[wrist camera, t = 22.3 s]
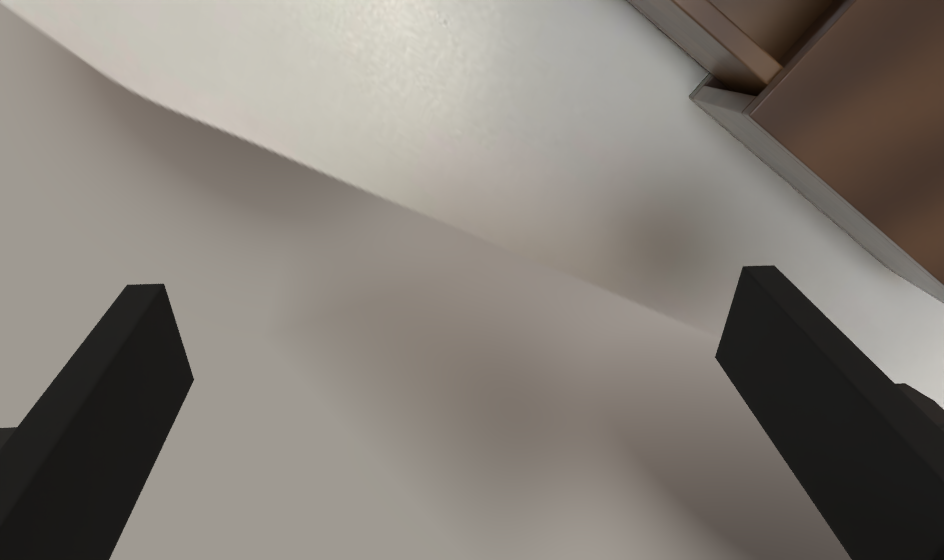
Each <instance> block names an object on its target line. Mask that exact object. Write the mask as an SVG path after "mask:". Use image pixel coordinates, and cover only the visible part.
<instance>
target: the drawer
mask: <svg viewBox="0 0 944 560" xmlns="http://www.w3.org/2000/svg"><path fill="white" fill-rule="evenodd" d="M627 1H628V2H630V3H631V4H632V5H633V6H634V7H635V8H636V9H638V10H639V11H640V12H641V13H642V14H643V15H645V16H646V17H647V18H648V19H649V20H650V21H651V22H653V23H654V24H655V25H656V26H657V27H658V28H659V29H661V30H662V31H663V32H664V33H665V34H666V35H667V36H669V37H670V38H671V39H672V40H673V41H674V42H675V43H677V44H678V45H679V46H680V47H681V48H682V49H683V50H685V51H686V52H687V53H688V54H689V55H690V56H692V57H693V58H694V59H695V60H696V61H697V62H698V63H700V64H701V65H702V66H703V67H704V68H705V69H706V70H708V71H709V72H710V73H711V74H712V75H713V76H714V77H716V78H717V79H718V80H719V81H720V82H721V83H722V84H724V85H725V86H726V87H727V88H728V89H729V90H731V91H733V92H738V93H743V94H748V95H753V96H758V95H759V94H760V93H761V92H762V91H763V90H764V89H765V88H766V87H767V85H768V84H769V83H770V82H771V81H772V80H773V79H774V78H775V77H776V76H777V75H778V74H779V73H780V71H781V70H782V69H783V68H784V67H785V66H786V65H787V64H788V63H789V62H790V61H791V60H792V59H793V57H794V56H795V55H796V54H797V53H798V52H799V51H800V50H801V49H802V48H803V47H804V46H805V45H806V43H807V42H808V41H809V40H810V39H811V38H812V37H813V36H814V35H815V34H816V33H817V32H818V31H819V29H820V28H821V27H822V26H823V25H824V24H825V23H826V22H827V21H828V20H829V19H830V18H831V17H832V15H833V14H834V13H835V12H836V11H837V10H838V9H839V8H840V7H841V6H842V5H843V4H844V3H845V1H846V0H627Z"/></svg>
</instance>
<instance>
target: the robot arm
mask: <svg viewBox="0 0 944 560" xmlns="http://www.w3.org/2000/svg"><path fill="white" fill-rule="evenodd" d="M715 358H716V359H717V361H718V362H719V363H720V365H721V367H722V368H723V370H724V371H725V372H726V374H727V376H728V377H729V379H730V380H731V382H732V383H733V384H734V386H735V387H736V389H737V390H738V392H739V393H740V395H741V396H742V398H743V399H744V400H745V402H746V404H747V405H748V407H749V408H750V410H751V411H752V413H753V414H754V416H755V417H756V418H757V420H758V421H759V423H760V424H761V426H762V427H763V429H764V430H765V432H766V433H767V435H768V436H769V438H770V439H771V440H772V442H773V443H774V445H775V447H776V448H777V450H778V451H779V452H780V454H781V455H782V457H783V458H784V460H785V461H786V463H787V464H788V466H789V467H790V469H791V470H792V472H793V473H794V475H795V476H796V478H797V479H798V480H799V482H800V483H801V485H802V486H803V488H804V489H805V491H806V492H807V494H808V495H809V497H810V498H811V500H812V501H813V503H814V504H815V506H816V507H817V509H818V510H819V512H820V513H821V515H822V516H823V517H824V519H825V520H826V522H827V523H828V525H829V526H830V528H831V529H832V531H833V532H834V534H835V535H836V537H837V538H838V540H839V541H840V543H841V544H842V546H843V547H844V549H845V550H846V551H847V553H848V554H849V556H850V557H851V559H852V560H944V410H943V409H942V408H941V407H940V406H939V405H938V404H937V403H936V402H935V401H933V400H932V399H930V398H928V397H927V396H925V395H923V394H922V393H920V392H919V391H917V390H915V389H914V388H912V387H910V386H909V385H907V384H905V383H902V384H894V383H893V382H892V381H891V380H890V379H889V378H888V377H887V376H886V375H885V374H884V373H883V372H882V371H881V370H880V369H879V368H878V367H877V366H876V365H875V364H874V363H873V362H872V361H871V360H870V359H869V358H868V357H867V356H866V355H865V354H864V353H863V352H862V351H861V350H860V349H859V348H858V347H857V346H856V345H855V344H854V343H853V342H852V341H851V340H850V339H849V338H848V337H847V336H846V335H845V334H843V333H842V332H841V331H840V330H839V329H838V328H837V327H836V326H835V325H834V324H833V323H832V322H831V321H830V320H829V319H828V318H827V317H826V316H825V315H824V314H823V313H822V312H821V311H820V310H819V309H818V308H817V307H816V306H815V305H814V304H813V303H812V302H811V301H810V300H809V299H808V298H807V297H806V296H805V295H804V294H803V293H802V292H801V291H800V290H799V289H798V288H797V287H796V286H795V285H794V284H793V283H791V282H790V281H789V280H788V279H787V278H786V277H785V276H784V275H783V274H782V273H781V272H780V271H779V270H778V269H777V268H776V267H775V266H743V268H742V272H741V275H740V278H739V281H738V285H737V288H736V291H735V294H734V298H733V301H732V304H731V307H730V311H729V314H728V317H727V320H726V324H725V327H724V330H723V333H722V337H721V340H720V343H719V347H718V350H717V353H716V356H715ZM193 381H194V378H193V375H192V372H191V369H190V365H189V362H188V359H187V356H186V353H185V349H184V346H183V343H182V340H181V337H180V333H179V330H178V327H177V324H176V321H175V317H174V314H173V312H172V308H171V305H170V302H169V298H168V295H167V292H166V289H165V286H164V284H143V285H141V284H140V285H127V286H126V287H125V288H124V290H123V291H122V292H121V294H120V295H119V296H118V297H117V299H116V300H115V301H114V303H113V304H112V305H111V307H110V308H109V309H108V311H107V312H106V313H105V314H104V316H103V317H102V318H101V320H100V321H99V322H98V323H97V325H96V326H95V328H94V329H93V330H92V331H91V332H90V334H89V335H88V336H87V338H86V339H85V340H84V342H83V343H82V344H81V346H80V347H79V348H78V349H77V351H76V352H75V353H74V354H73V356H72V357H71V358H70V360H69V361H68V363H67V364H66V365H65V366H64V367H63V369H62V370H61V372H60V373H59V374H58V375H57V377H56V378H55V379H54V380H53V382H52V383H51V384H50V386H49V387H48V388H47V390H46V391H45V392H44V393H43V395H42V396H41V397H40V399H39V400H38V401H37V402H36V404H35V405H34V406H33V408H32V409H31V410H30V412H29V413H28V414H27V416H26V417H25V418H24V419H23V421H22V422H21V423H20V425H19V426H18V427H16V428H15V427H14V428H0V560H109V559H110V557H111V554H112V552H113V550H114V548H115V546H116V544H117V542H118V540H119V537H120V535H121V533H122V531H123V529H124V527H125V525H126V523H127V521H128V518H129V516H130V514H131V512H132V510H133V508H134V506H135V504H136V501H137V499H138V497H139V495H140V492H141V491H142V489H143V486H144V485H145V482H146V480H147V478H148V476H149V474H150V472H151V469H152V467H153V465H154V463H155V461H156V459H157V457H158V455H159V453H160V451H161V449H162V446H163V444H164V442H165V440H166V438H167V436H168V433H169V431H170V429H171V427H172V425H173V423H174V421H175V419H176V417H177V415H178V412H179V410H180V408H181V406H182V404H183V402H184V400H185V398H186V396H187V393H188V391H189V389H190V387H191V385H192V383H193Z"/></svg>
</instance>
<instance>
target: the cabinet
mask: <svg viewBox="0 0 944 560" xmlns="http://www.w3.org/2000/svg"><path fill="white" fill-rule="evenodd" d="M689 98H690V99H691V100H692V101H693V102H694V103H696V104H697V105H698V106H699V107H700V108H701V109H703V110H704V111H705V112H706V113H707V114H708V115H710V116H711V117H712V118H713V119H714V120H715V121H717V122H718V123H719V124H720V125H721V126H722V127H724V128H725V129H726V130H727V131H728V132H729V133H731V134H732V135H733V136H734V137H735V138H736V139H738V140H739V141H740V142H741V143H742V144H743V145H745V146H746V147H747V148H748V149H749V150H750V151H752V152H753V153H754V154H755V155H756V156H757V157H759V158H760V159H761V160H762V161H763V162H764V163H766V164H767V165H768V166H769V167H770V168H771V169H773V170H774V171H775V172H776V173H777V174H778V175H780V176H781V177H782V178H783V179H784V180H785V181H787V182H788V183H789V184H790V185H791V186H792V187H794V188H795V189H796V190H797V191H798V192H799V193H801V194H802V195H803V196H804V197H805V198H806V199H808V200H809V201H810V202H811V203H812V204H813V205H814V206H816V207H817V208H818V209H819V210H820V211H821V212H823V213H824V214H825V215H826V216H827V217H828V218H830V219H831V220H832V221H833V222H834V223H835V224H837V225H838V226H839V227H840V228H841V229H842V230H844V231H845V232H846V233H847V234H848V235H849V236H851V237H852V238H853V239H854V240H855V241H856V242H858V243H859V244H860V245H861V246H862V247H863V248H865V249H866V250H867V251H868V252H869V253H870V254H872V255H873V256H874V257H875V258H876V259H877V260H879V261H880V262H881V263H882V264H883V265H884V266H886V267H887V268H888V269H889V270H891V271H892V272H894V273H896V274H897V275H899V276H900V277H902V278H904V279H905V280H907V281H909V282H910V283H912V284H913V285H915V286H917V287H918V288H920V289H921V290H923V291H925V292H926V293H928V294H929V295H931V296H933V297H934V298H936V299H937V300H939V301H941V302H942V303H944V0H846V1H845V3H844V4H843V5H842V6H841V7H840V8H839V9H838V10H837V11H836V12H835V13H834V14H833V15H832V17H831V18H830V19H829V20H828V21H827V22H826V23H825V24H824V25H823V26H822V27H821V28H820V29H819V31H818V32H817V33H816V34H815V35H814V36H813V37H812V38H811V39H810V40H809V41H808V42H807V43H806V45H805V46H804V47H803V48H802V49H801V50H800V51H799V52H798V53H797V54H796V55H795V56H794V57H793V59H792V60H791V61H790V62H789V63H788V64H787V65H786V66H785V67H784V68H783V69H782V70H781V71H780V73H779V74H778V75H777V76H776V77H775V78H774V79H773V80H772V81H771V82H770V83H769V84H768V85H767V87H766V88H765V89H764V90H763V91H762V92H761V93H760V94H759V95H758V96H753V95H748V94H743V93H738V92H733V91H731V90H729V89H728V88H727V87H726V86H725V85H724V84H722V83H721V82H720V81H719V80H718V79H717V78H716V77H714V76H713V75H712V74H711V73H709V75H708V76H707V77H706V78H705V79H704V80H703V81H702V83H701V84H700V85H699V86H698V87H697V88H696V89H695V91H694V92H693V93H692V94H691V95H690V96H689Z"/></svg>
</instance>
